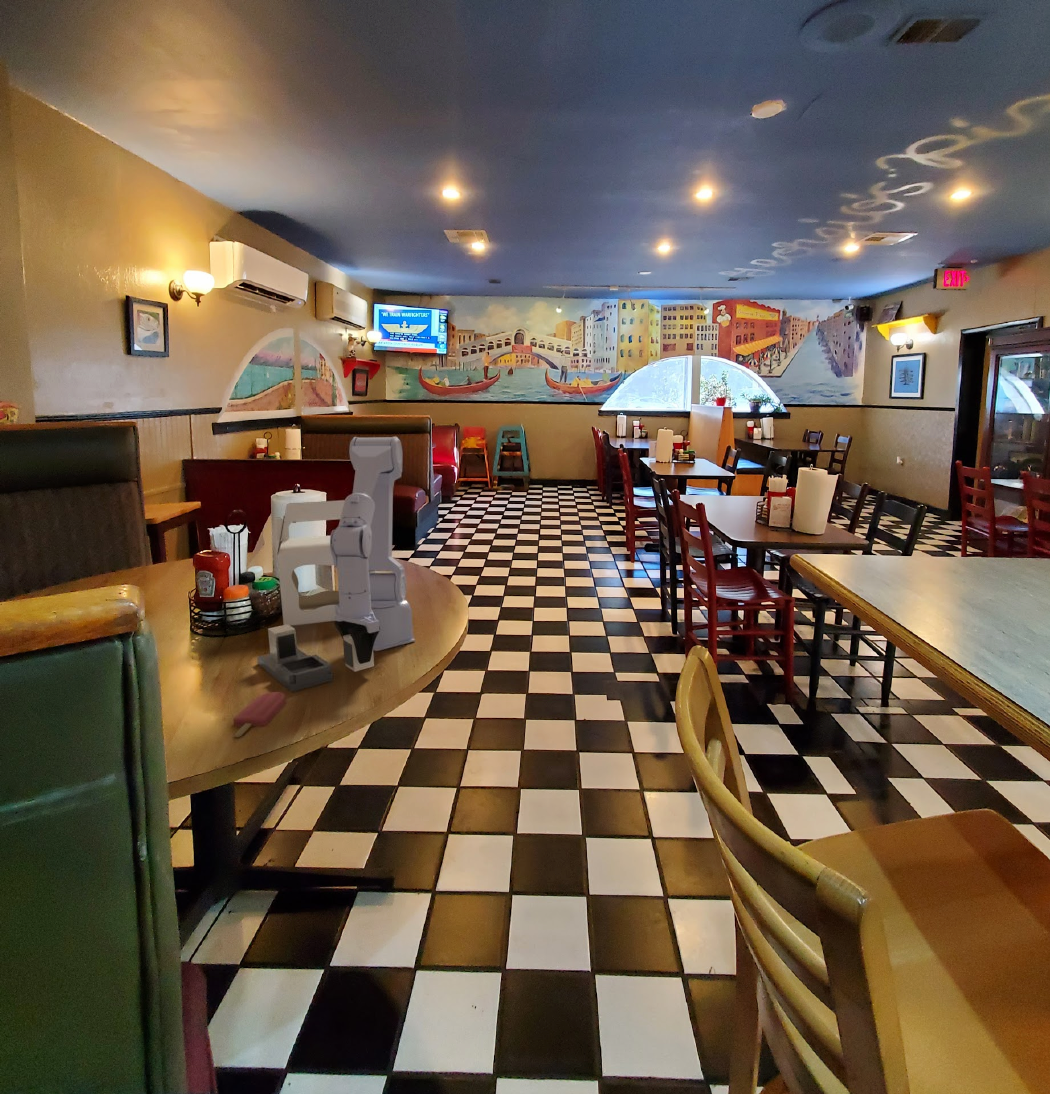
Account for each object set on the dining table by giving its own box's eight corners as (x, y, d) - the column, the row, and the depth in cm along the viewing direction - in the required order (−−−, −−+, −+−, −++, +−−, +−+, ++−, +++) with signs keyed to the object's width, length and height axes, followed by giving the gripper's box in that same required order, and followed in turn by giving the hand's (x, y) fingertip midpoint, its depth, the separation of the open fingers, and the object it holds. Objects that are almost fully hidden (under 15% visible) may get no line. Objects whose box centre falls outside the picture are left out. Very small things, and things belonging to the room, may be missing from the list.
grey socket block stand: (296, 654, 142) (293, 619, 141) (333, 680, 129) (330, 642, 127) (257, 663, 137) (254, 628, 136) (291, 692, 124) (287, 653, 122)
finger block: (364, 660, 134) (362, 631, 132) (374, 666, 131) (372, 636, 129) (343, 665, 131) (341, 636, 130) (353, 672, 128) (351, 641, 127)
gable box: (372, 601, 179) (365, 495, 173) (379, 616, 167) (372, 502, 161) (282, 611, 172) (272, 500, 166) (282, 627, 160) (271, 508, 154)
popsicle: (219, 731, 107) (261, 691, 122) (220, 740, 107) (262, 699, 122) (252, 732, 107) (291, 691, 121) (253, 741, 107) (291, 699, 122)
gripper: (318, 586, 131) (323, 653, 134) (351, 602, 120) (356, 675, 123) (352, 579, 135) (357, 644, 138) (387, 595, 124) (392, 665, 127)
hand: (359, 658), depth 130 cm, fingers closed on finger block, 4 cm apart
